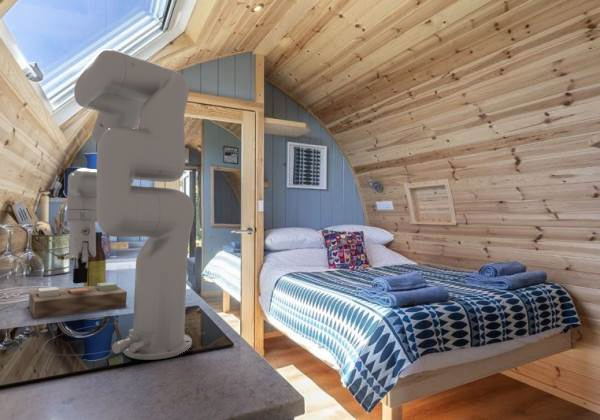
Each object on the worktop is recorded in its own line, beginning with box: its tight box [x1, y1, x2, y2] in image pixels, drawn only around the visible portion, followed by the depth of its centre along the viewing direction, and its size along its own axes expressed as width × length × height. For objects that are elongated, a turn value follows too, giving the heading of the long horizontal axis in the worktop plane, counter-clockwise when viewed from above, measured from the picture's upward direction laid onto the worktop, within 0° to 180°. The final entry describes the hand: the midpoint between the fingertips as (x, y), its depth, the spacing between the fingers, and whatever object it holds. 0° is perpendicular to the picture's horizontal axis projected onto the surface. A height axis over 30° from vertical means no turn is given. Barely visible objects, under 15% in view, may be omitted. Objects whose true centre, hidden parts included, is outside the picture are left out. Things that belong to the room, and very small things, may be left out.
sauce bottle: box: [83, 231, 107, 287], centre depth 117 cm, size 6×6×20 cm
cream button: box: [37, 286, 60, 298], centre depth 96 cm, size 4×4×3 cm
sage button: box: [97, 281, 118, 291], centre depth 105 cm, size 4×4×3 cm
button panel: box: [28, 285, 128, 319], centre depth 100 cm, size 21×14×4 cm, turn 131°
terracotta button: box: [69, 288, 89, 294], centre depth 100 cm, size 4×4×3 cm
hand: (80, 282), depth 100 cm, fingers closed
